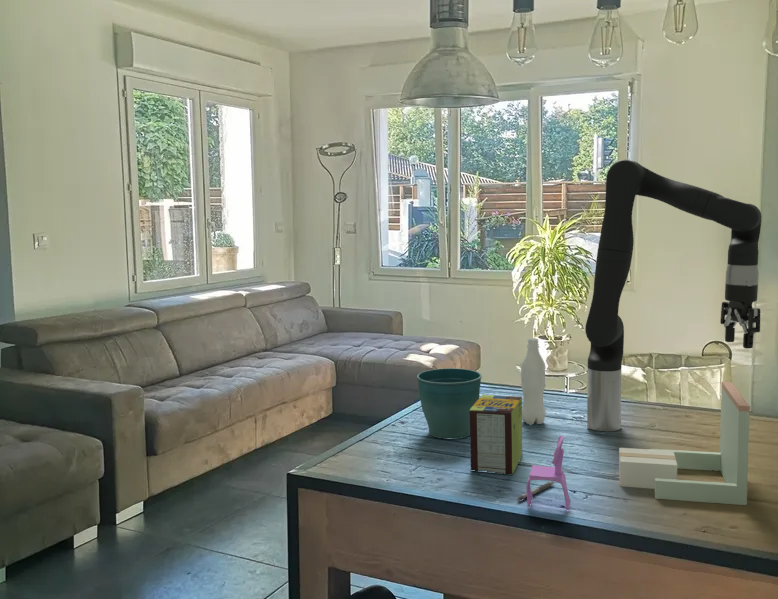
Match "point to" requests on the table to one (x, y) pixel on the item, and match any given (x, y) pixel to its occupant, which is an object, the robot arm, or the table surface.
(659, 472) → the carton
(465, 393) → the flower pot
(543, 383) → the water bottle
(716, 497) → the display stand
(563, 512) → the table surface
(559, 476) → the toy chair
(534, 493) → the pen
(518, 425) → the protein box
